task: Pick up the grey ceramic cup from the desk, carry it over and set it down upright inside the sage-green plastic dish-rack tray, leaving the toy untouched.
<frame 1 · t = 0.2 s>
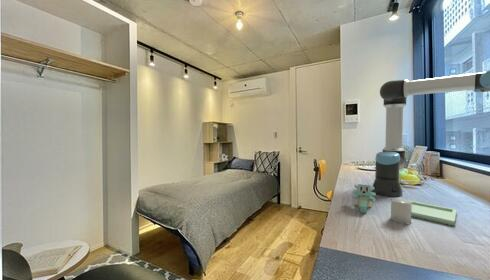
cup: (400, 220, 93), on the counter
rack tray: (424, 213, 100), on the counter
toy: (363, 209, 105), on the counter
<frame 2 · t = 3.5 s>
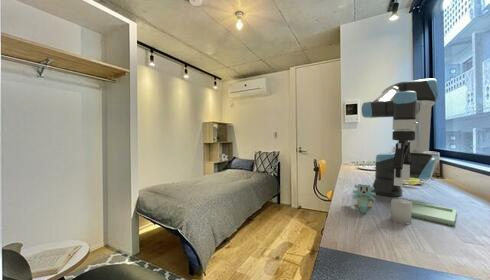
hand: (401, 182, 91), 16 cm above the counter, fingers open, 13 cm apart
nothing on the counter moved.
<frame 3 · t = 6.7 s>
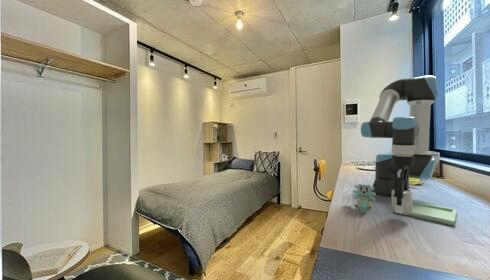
hand: (401, 209, 93), 4 cm above the counter, fingers closed on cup, 7 cm apart
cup: (401, 210, 93), point 4 cm above the counter, touching gripper
everything else where it was.
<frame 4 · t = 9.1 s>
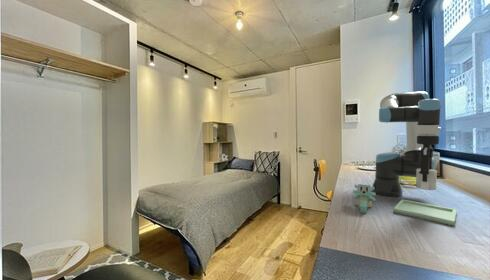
hand: (425, 187, 99), 12 cm above the counter, fingers closed on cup, 7 cm apart
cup: (425, 187, 99), point 11 cm above the counter, touching gripper
everything else where it was.
when the fingers open (3 cm above the counter, at t = 11.4 s): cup drops 1 cm, resting on rack tray.
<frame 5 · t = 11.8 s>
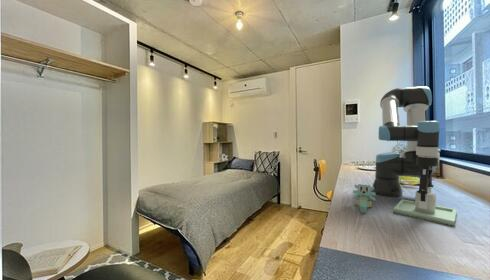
hand: (425, 204, 99), 4 cm above the counter, fingers open, 12 cm apart
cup: (424, 210, 100), point 1 cm above the counter, touching rack tray
everything else where it was.
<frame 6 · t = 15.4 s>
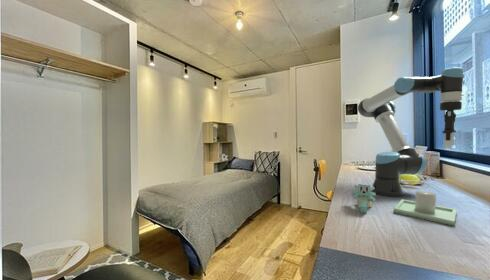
hand: (448, 146, 107), 29 cm above the counter, fingers open, 13 cm apart
nothing on the counter moved.
at the end: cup inside the target area on the rack tray (0.1 cm from its centre), point 1.0 cm above the rack tray's base; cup tilted 0°; the gripper is holding nothing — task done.
